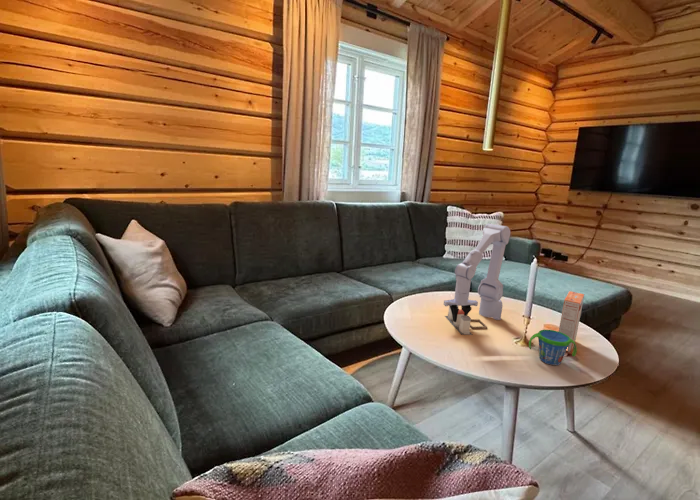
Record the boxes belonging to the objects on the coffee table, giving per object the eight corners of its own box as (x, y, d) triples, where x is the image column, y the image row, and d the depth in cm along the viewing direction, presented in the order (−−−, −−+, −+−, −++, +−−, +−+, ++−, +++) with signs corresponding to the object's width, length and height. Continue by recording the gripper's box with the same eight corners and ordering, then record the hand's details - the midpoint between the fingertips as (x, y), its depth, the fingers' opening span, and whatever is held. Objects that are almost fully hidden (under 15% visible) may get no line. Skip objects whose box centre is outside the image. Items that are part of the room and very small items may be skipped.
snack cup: (527, 362, 139) (531, 336, 136) (526, 349, 148) (530, 325, 146) (575, 373, 133) (581, 346, 131) (571, 359, 143) (576, 334, 140)
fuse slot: (465, 329, 160) (467, 315, 159) (469, 333, 157) (471, 318, 156) (459, 329, 160) (461, 315, 158) (462, 333, 157) (464, 318, 155)
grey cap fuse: (454, 317, 173) (455, 303, 171) (456, 320, 170) (458, 306, 168) (447, 317, 172) (449, 303, 171) (450, 320, 169) (452, 306, 168)
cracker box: (559, 336, 162) (568, 290, 157) (575, 341, 158) (585, 293, 153) (553, 348, 150) (563, 299, 146) (571, 353, 147) (581, 303, 142)
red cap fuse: (459, 323, 166) (461, 309, 165) (462, 326, 164) (464, 312, 162) (453, 323, 166) (455, 309, 165) (455, 326, 163) (457, 312, 162)
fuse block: (454, 318, 175) (455, 313, 174) (472, 337, 156) (473, 331, 156) (444, 318, 174) (444, 313, 173) (460, 337, 156) (461, 332, 155)
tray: (478, 323, 170) (479, 319, 170) (486, 331, 163) (487, 327, 162) (463, 323, 170) (464, 319, 169) (471, 331, 162) (471, 327, 161)
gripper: (474, 288, 166) (470, 317, 169) (442, 288, 164) (439, 317, 167) (481, 294, 159) (477, 323, 163) (448, 293, 157) (445, 324, 160)
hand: (458, 321), depth 164 cm, fingers closed on red cap fuse, 3 cm apart
